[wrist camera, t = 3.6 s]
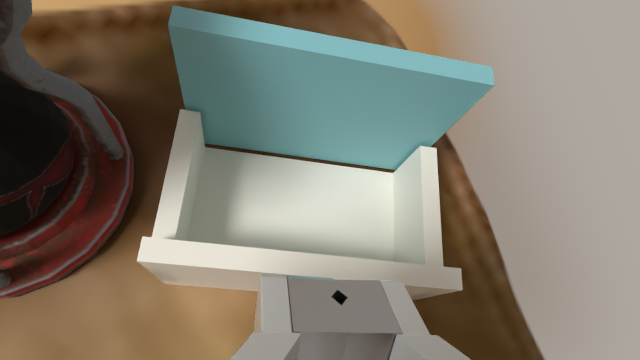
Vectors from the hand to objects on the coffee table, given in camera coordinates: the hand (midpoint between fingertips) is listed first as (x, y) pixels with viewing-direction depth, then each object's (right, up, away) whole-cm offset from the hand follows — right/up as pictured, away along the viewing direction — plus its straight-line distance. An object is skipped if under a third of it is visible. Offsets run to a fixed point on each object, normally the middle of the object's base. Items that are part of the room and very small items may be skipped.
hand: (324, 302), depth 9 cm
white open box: (-2, -1, +22) cm, 22 cm away
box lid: (-1, +4, +22) cm, 23 cm away
